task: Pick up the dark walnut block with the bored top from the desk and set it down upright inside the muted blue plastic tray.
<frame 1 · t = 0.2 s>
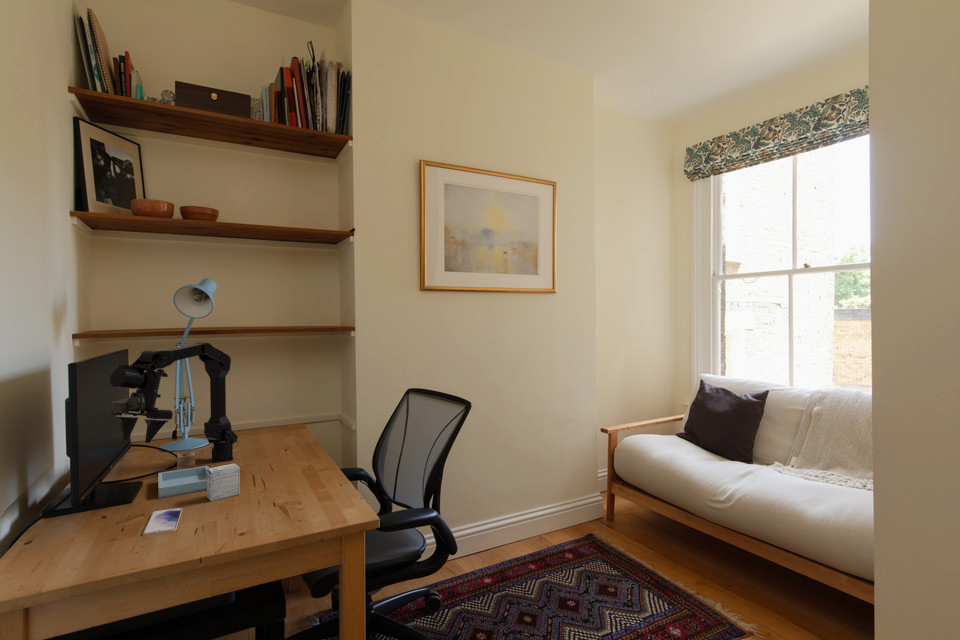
hand: (136, 441, 145), 15 cm above the table, fingers open, 9 cm apart
walnut block: (186, 472, 163), on the table
tray: (185, 485, 150), on the table
medicine box: (223, 496, 142), on the table
smartphone: (163, 523, 125), on the table
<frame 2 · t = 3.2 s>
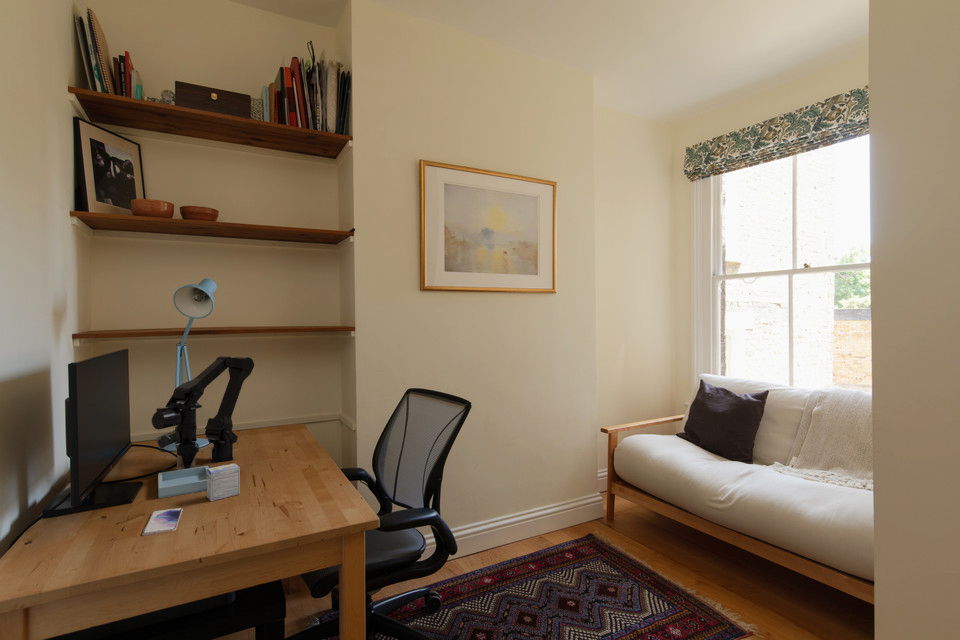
hand: (186, 468, 163), 1 cm above the table, fingers closed on walnut block, 5 cm apart
walnut block: (186, 471, 163), on the table, touching gripper
everything else where it was.
when the fingers open (3 cm above the table, at t = 8.7 s): walnut block drops 1 cm, resting on tray.
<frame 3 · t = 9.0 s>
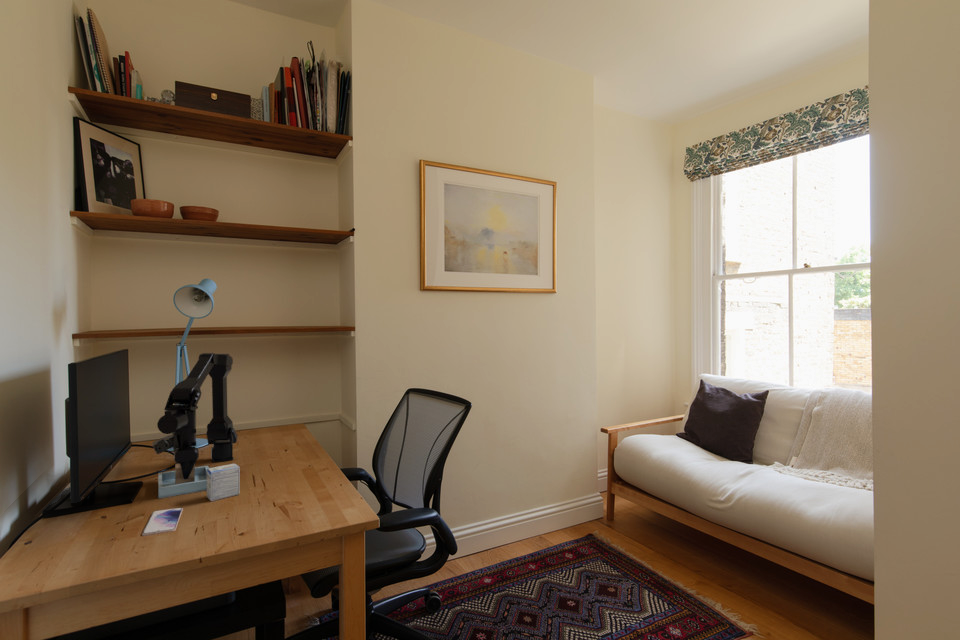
hand: (185, 475, 150), 3 cm above the table, fingers open, 8 cm apart
walnut block: (184, 483, 150), point 1 cm above the table, touching tray
everything else where it was.
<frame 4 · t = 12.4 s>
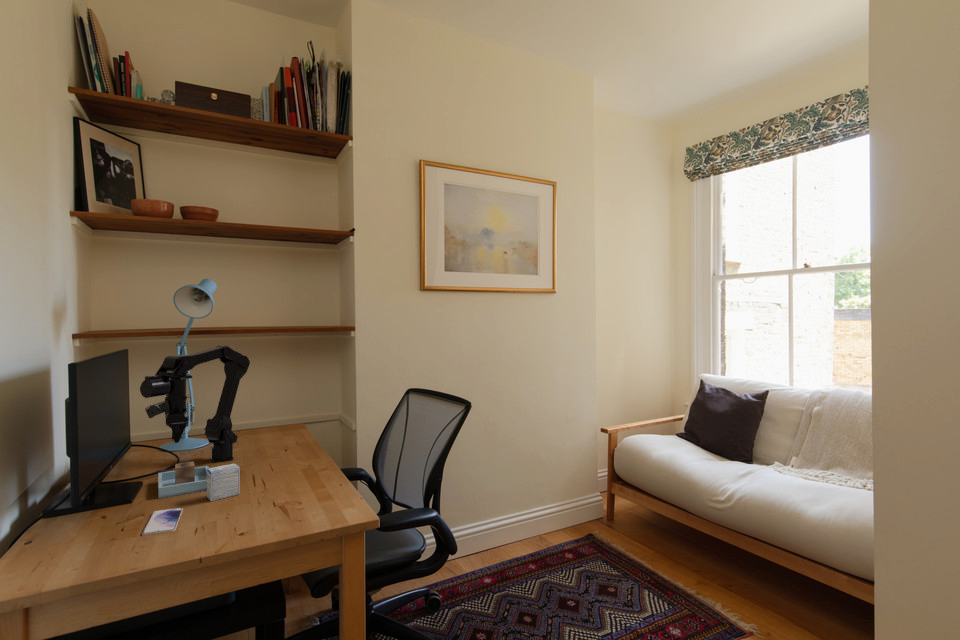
hand: (176, 439, 160), 12 cm above the table, fingers open, 9 cm apart
nothing on the table moved.
at the end: walnut block inside the target area on the tray (0.1 cm from its centre), point 0.6 cm above the tray's base; walnut block tilted 0°; the gripper is holding nothing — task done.
